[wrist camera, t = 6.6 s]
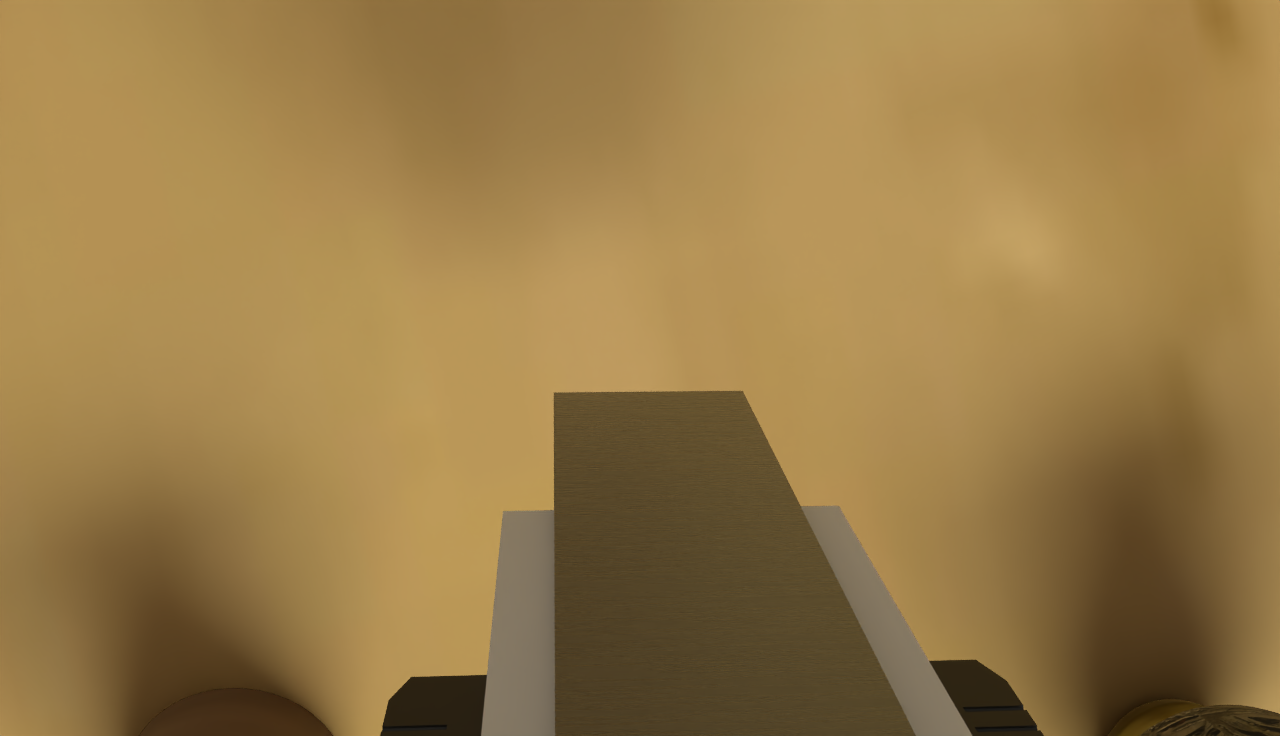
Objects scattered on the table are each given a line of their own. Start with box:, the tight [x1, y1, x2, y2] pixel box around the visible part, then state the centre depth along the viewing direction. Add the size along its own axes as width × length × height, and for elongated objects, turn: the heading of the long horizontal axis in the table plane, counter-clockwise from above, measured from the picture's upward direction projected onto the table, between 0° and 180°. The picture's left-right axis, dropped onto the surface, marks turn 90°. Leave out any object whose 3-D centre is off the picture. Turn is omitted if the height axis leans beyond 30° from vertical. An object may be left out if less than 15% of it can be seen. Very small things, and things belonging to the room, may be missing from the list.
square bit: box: [554, 391, 916, 736], centre depth 17 cm, size 3×3×12 cm
